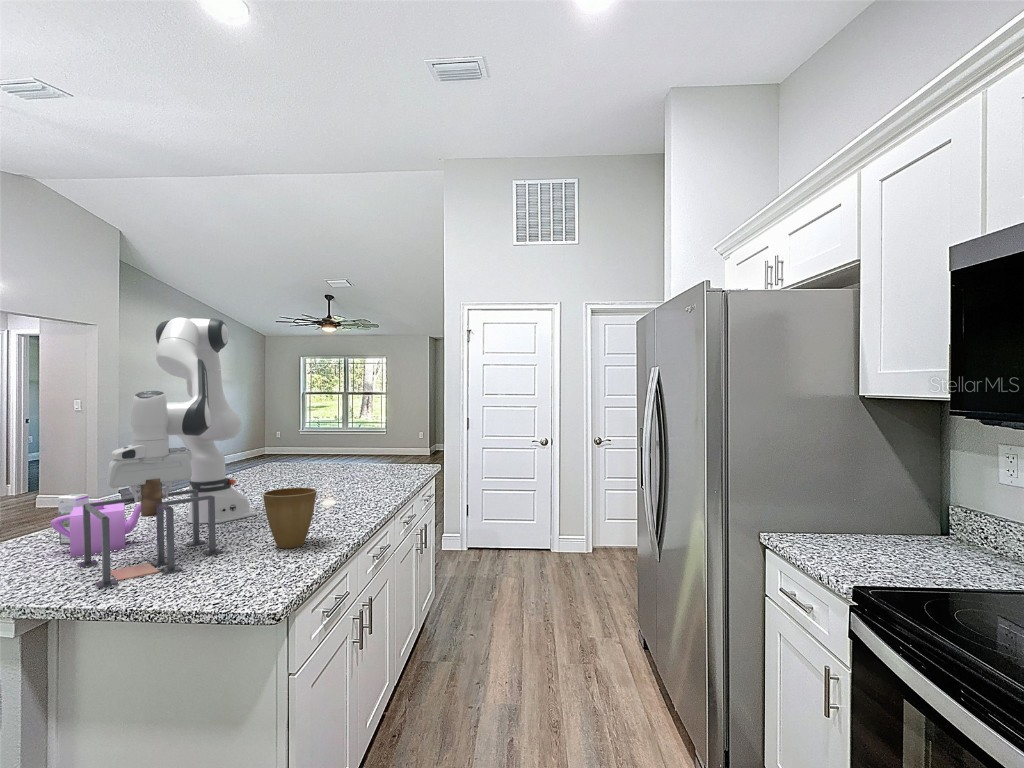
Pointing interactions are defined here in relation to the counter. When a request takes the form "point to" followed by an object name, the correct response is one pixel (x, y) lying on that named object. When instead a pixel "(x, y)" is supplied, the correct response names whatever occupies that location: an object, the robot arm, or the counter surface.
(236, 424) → the robot arm
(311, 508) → the plant pot
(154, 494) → the walnut cylinder
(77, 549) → the teapot
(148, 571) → the tile
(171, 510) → the dark grey bar frame
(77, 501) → the syrup box
